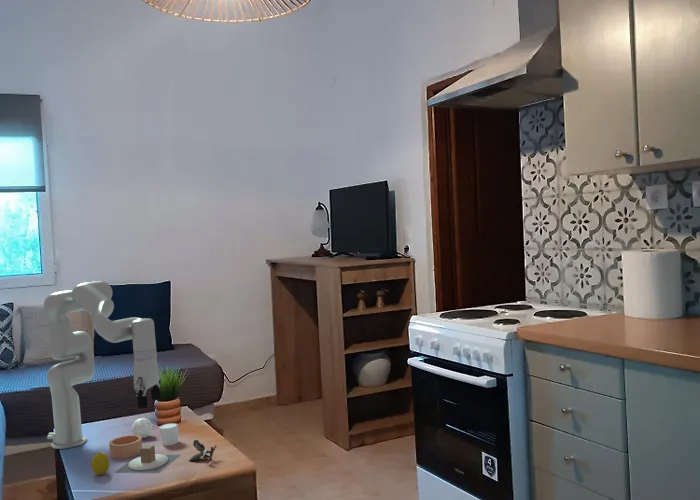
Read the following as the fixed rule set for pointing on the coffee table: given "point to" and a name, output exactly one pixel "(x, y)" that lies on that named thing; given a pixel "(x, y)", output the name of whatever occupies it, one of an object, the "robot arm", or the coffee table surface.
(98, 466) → the lemon
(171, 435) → the shot glass
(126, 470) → the mat
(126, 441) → the bowl
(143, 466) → the lid
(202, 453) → the eagle figurine
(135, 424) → the geometric ball
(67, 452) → the coffee table surface
